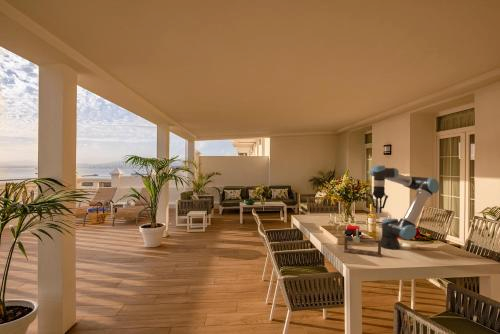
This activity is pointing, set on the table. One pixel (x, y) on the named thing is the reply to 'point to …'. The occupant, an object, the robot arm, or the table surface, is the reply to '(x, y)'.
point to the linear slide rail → (362, 252)
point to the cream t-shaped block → (356, 237)
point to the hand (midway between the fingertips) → (378, 217)
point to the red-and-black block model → (352, 230)
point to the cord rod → (361, 240)
